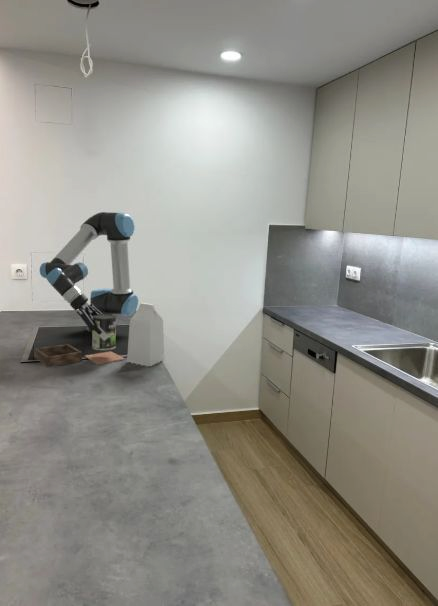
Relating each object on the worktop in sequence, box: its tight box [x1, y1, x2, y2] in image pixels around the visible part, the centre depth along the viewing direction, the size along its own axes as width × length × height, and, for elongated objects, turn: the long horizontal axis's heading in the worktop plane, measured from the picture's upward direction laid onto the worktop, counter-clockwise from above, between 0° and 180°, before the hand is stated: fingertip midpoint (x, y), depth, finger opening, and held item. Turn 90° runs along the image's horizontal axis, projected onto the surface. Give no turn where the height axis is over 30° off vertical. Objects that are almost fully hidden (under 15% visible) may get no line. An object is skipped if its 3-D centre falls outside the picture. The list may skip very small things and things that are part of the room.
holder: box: [33, 343, 83, 368], centre depth 201 cm, size 15×15×4 cm
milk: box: [126, 302, 165, 367], centre depth 203 cm, size 12×12×26 cm
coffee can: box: [91, 314, 117, 351], centre depth 204 cm, size 10×10×14 cm
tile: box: [84, 350, 125, 365], centre depth 206 cm, size 13×13×1 cm
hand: (110, 335), depth 204 cm, fingers closed on coffee can, 10 cm apart
